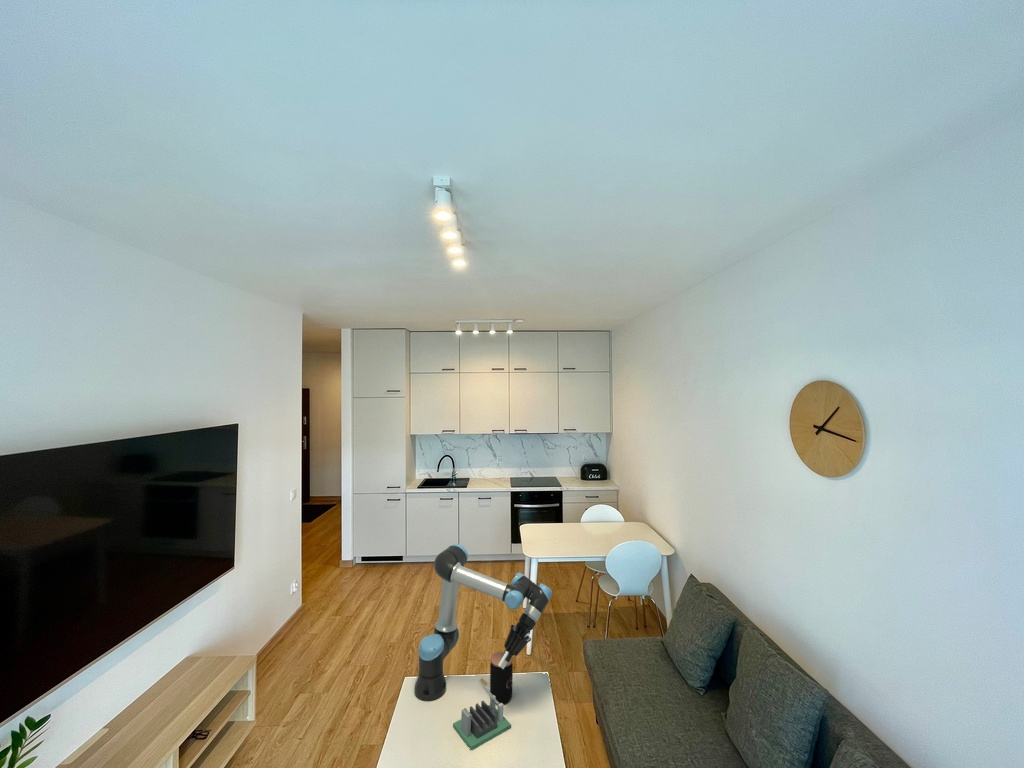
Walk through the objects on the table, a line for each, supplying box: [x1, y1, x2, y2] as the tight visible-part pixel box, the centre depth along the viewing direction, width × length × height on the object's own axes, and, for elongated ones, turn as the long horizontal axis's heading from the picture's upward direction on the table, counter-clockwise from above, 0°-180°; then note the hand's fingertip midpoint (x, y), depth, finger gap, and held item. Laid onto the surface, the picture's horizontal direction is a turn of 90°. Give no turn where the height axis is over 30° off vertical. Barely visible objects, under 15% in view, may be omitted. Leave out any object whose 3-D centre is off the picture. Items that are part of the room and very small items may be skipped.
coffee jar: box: [489, 651, 514, 705], centre depth 195 cm, size 11×11×18 cm
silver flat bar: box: [478, 677, 500, 707], centre depth 179 cm, size 4×15×2 cm
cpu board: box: [452, 695, 512, 751], centre depth 176 cm, size 15×20×10 cm
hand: (500, 667), depth 182 cm, fingers closed
